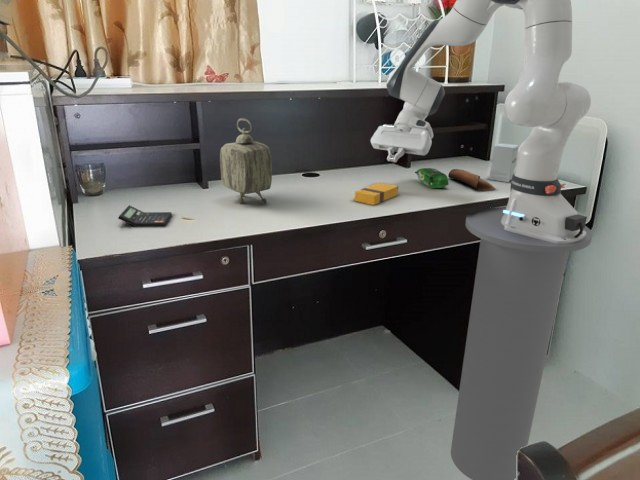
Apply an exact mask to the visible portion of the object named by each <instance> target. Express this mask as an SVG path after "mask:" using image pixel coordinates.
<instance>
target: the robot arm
mask: <svg viewBox="0 0 640 480" xmlns="http://www.w3.org/2000/svg"><path fill="white" fill-rule="evenodd" d="M503 6H505V7H507V8H509V9H510V8H511V9H518V10H522V12H523V14H524V56H523V63H522V69H521V71H520V72H521V73H520V76H519V78H518V79H517V82H516V84H515V86H514V87H513V88H512V89H511V90H510V91H509V92H508V94H507V96H506V98H505V100H504V105H503V106H504V114H505V117H506V119H507V120H508V121H509V122H510V123H512V124H514V125H517V126H521V127H527V128H532V130H531V132H530V133H529V135H528V136H527V138H526V139H525V140H523V142H521V143H520V145H519V146H518V152H517V158H516V165H515V170H514V174H513V175H512V179H511V180H510V187H509V188H510V194H509V197H508V201H507V204H506V210H503V213H504V215H503V217H502V219H501V224H502V225H503V226H504V230H506V231H510V232H513V233H517V234H521V235H525V236H529V237H533V238H537V239H540V240H544V241H548V242H552V243H556V244H568V243H574V242H577V241H580V240H582V239H584V238H585V237H586V231H584V230H583V228H585V226H586V223H587V219H588V216H585V215H583V214H579V213H578V211H577V209H575V208H574V207H573V205H571V203H570V202H569V201H568V200H567V199H566V198H565V197H564V196H563V194H562V189H565V188H566V183H560V181H559V178H558V176H559V170H560V166H561V161H562V157H563V153H564V150H565V147H566V145H567V143H568V141H569V138H570V136H571V134H572V132H573V131H574V129H575V128H576V126H577V125H578V123H579V122H580V121H581V120H582V119H583V118H584V117H585V116H586V115H587V114H588V112H589V110H590V109H591V104H592V103H591V102H592V101H591V100H592V99H591V94H590V93H589V91H588V90H587V89H586V87H584V86H581V85H579V84H576V83H572V82H568V81H567V82H565V81H564V82H559V78H560V74H561V71H562V69H563V66H564V65H565V63H567V61H569V59H570V57H571V56H572V54H573V9H572V0H456V1H455V2H454V4H453V6H452V7H451V9H450V11H449V12H448V13H447V14H446V15H445V16H443V17H442V18H440V19H434V20H433V21H432V22H431V23H430V24H429V25H427V27H426V28H425V30H424V31H423V32H422V34H421V35H420V36H419V37H418V39H417V40H416V41H415V42H414V44H413V45H412V47H411V48H410V49H409V51H408V52H407V54H406V55H405V56H404V58H403V59H402V61H401V62H400V63H399V64H398V65H397V66H396V67H395V68H394V69H393V70H392V71H391V73H390V74H389V76H388V78H387V81H386V84H385V86H386V88H387V89H386V90H387V91H388V94H389V95H390V96H391V97H393V98H396V99H398V100H401V101H404V103H403V108H402V110H401V111H400V112H399V113H398V115H397V118H396V120H395V121H394V123H393V124H387V123H384V124H382V125H379V126H378V127H377V129H376V130H375V131H374V133H373V135H372V136H371V138H370V139H369V140H370V144H371V146H372V148H373V149H375V150H381V151H382V150H383V151H387V154H388V155H387V158H386V160H387V162H392V163H397V162H398V161H399V159H400V158H402V157H403V156H404V155H405V154H411V155H417V156H426V155H428V153H429V152H430V149H431V147H432V143H433V141H432V139H433V138H434V132H433V128H432V127H431V124H430V123H429V122H428V121H426V118H427V117H428V116H432V115H434V114H435V113H437V112H438V110H439V109H440V106H441V103H442V101H443V99H444V97H445V96H446V95H445V87H444V86H443V84H441V82H439V81H436V80H435V79H433V78H432V77H429V76H427V75H425V74H422V73H421V72H419V71H416V70H415V69H414V67H415V66H416V64H417V63H418V62H419V60H420V59H421V58H422V56H423V55H424V54H425V53H426V51H427V50H428V49H430V48H432V47H434V46H449V47H463V46H468V45H471V44H473V43H474V42H476V41H477V40H478V39H479V37H480V36H481V35H482V34H483V32H484V31H485V29H486V27H487V25H488V24H489V22H490V20H491V18H492V17H493V15H494V14H495V12H496V11H497V10H498V9H499V8H500V7H503ZM395 152H396V153H395ZM394 153H395V154H394Z"/></svg>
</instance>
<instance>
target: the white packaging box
mask: <svg viewBox="0 0 640 480" xmlns="http://www.w3.org/2000/svg"><path fill="white" fill-rule="evenodd" d="M519 146H520V145H519V144H513V143H512V144H511V143H497V144H494V146H493V150H492V156H491V164H490V169H489V177H488V180H491V181H497V182H504V183H510V182H511V180H512V175H513V174H514V172H515V166H516V160H517V153H518V149H519Z"/></svg>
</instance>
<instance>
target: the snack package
mask: <svg viewBox="0 0 640 480" xmlns="http://www.w3.org/2000/svg"><path fill="white" fill-rule="evenodd" d="M414 173H415V174H416V175H417V178H418V180H419V181H420V182H421V183H422V184H423V185H425V186H427V187H428V188H431V189H443V188H445V187H446V186H448V185H449V179H448V178H449V177H448V175H447V174H445V173H444V172H442V171H440V170H439V169H437V168H434V167H422V168H419V169H417V170H416V171H414Z"/></svg>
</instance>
